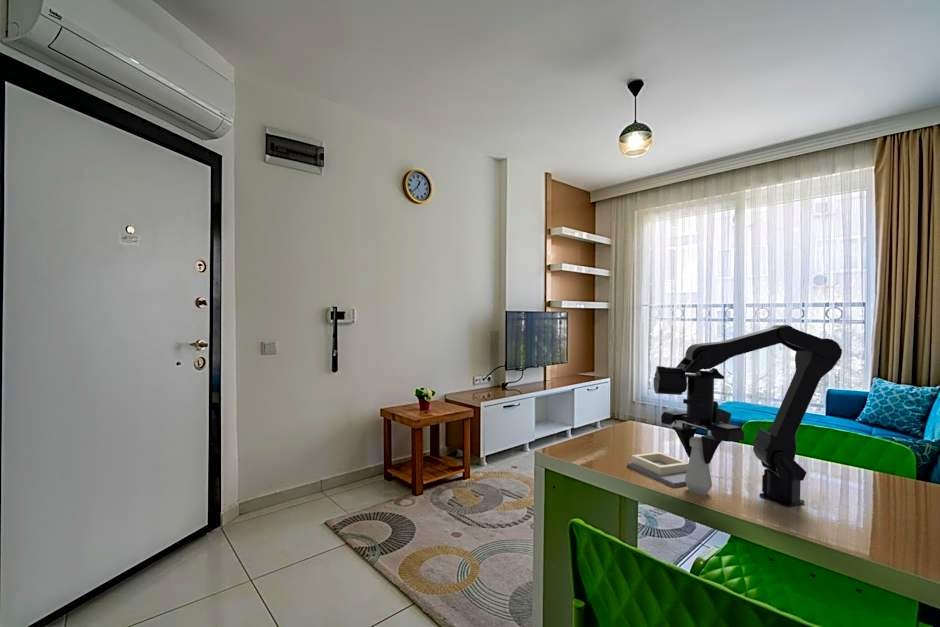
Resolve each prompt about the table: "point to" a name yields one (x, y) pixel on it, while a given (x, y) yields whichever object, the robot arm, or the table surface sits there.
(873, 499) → the table surface
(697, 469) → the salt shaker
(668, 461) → the build board
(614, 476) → the table surface
